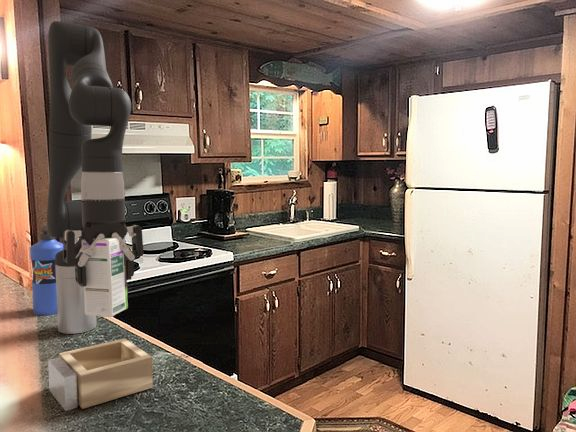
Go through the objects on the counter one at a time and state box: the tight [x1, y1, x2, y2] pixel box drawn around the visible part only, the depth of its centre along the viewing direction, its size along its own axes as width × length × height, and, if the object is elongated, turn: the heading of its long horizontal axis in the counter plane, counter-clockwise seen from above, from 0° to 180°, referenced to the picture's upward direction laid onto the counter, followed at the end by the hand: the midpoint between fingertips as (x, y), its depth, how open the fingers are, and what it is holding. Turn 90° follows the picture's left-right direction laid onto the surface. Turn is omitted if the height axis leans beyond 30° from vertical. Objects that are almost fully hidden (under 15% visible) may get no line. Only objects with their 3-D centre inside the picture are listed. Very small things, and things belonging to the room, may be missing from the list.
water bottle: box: [29, 224, 63, 316], centre depth 140 cm, size 9×9×25 cm
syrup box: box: [82, 236, 129, 318], centre depth 91 cm, size 6×6×14 cm
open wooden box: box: [58, 337, 154, 410], centre depth 93 cm, size 13×13×6 cm
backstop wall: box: [47, 356, 79, 412], centre depth 88 cm, size 10×2×6 cm, turn 41°
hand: (105, 282), depth 91 cm, fingers closed on syrup box, 8 cm apart
